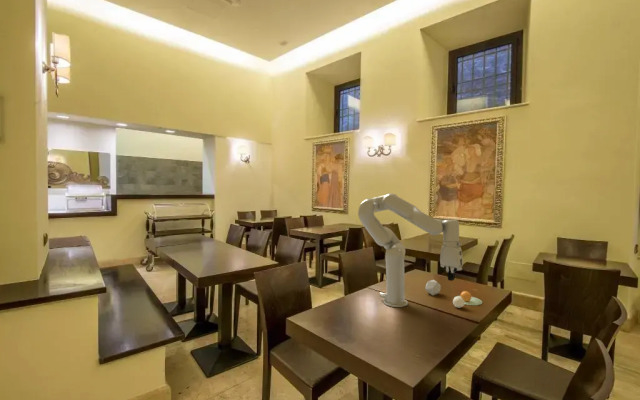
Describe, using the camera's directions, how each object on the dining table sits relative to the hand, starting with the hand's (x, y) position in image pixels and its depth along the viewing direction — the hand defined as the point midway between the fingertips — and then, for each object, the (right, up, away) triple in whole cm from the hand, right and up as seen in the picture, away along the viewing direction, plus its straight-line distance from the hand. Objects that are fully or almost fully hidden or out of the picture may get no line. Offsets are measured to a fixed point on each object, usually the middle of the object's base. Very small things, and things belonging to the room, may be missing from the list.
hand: (451, 280), depth 153 cm
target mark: (+15, -15, +13) cm, 24 cm away
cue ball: (+5, -12, +3) cm, 14 cm away
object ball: (+13, -12, +11) cm, 21 cm away
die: (0, -15, +24) cm, 28 cm away
